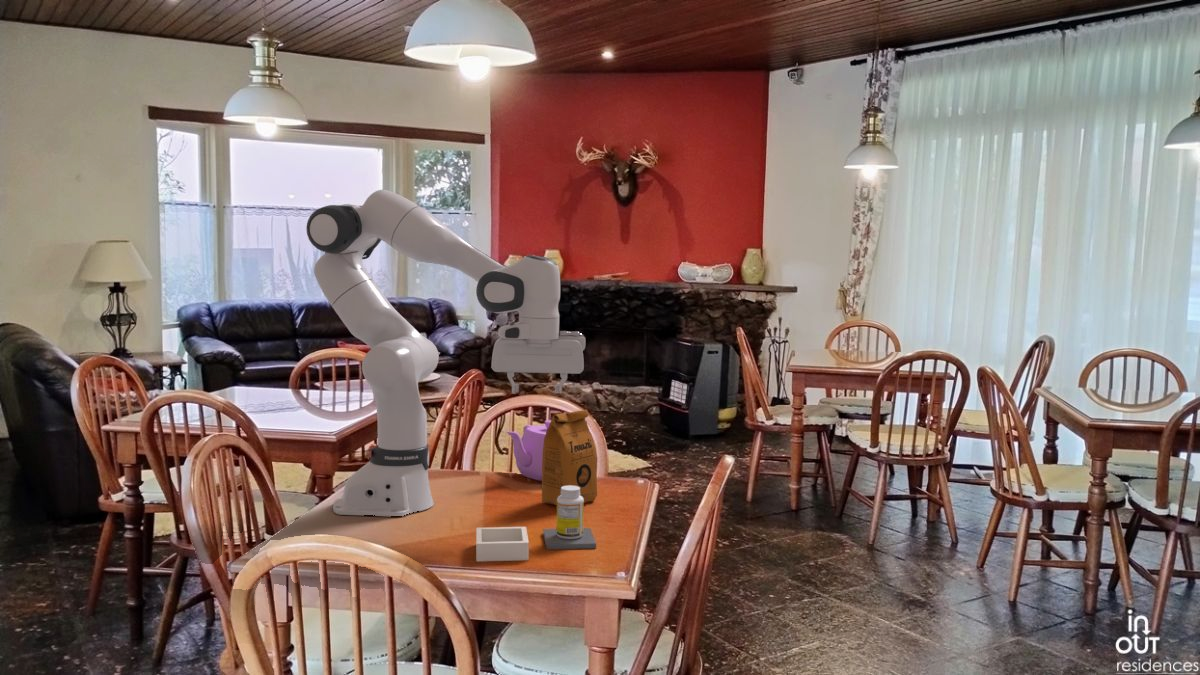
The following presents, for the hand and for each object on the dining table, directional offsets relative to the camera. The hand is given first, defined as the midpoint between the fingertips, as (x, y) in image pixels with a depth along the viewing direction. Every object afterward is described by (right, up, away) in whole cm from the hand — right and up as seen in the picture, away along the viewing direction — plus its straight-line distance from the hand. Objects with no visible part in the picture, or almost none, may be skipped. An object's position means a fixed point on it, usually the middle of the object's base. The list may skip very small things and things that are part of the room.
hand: (536, 392), depth 198 cm
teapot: (0, -25, +39) cm, 47 cm away
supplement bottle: (+8, -29, -12) cm, 32 cm away
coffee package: (+7, -27, +16) cm, 32 cm away
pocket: (-6, -30, -20) cm, 37 cm away
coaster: (+8, -30, -12) cm, 33 cm away
